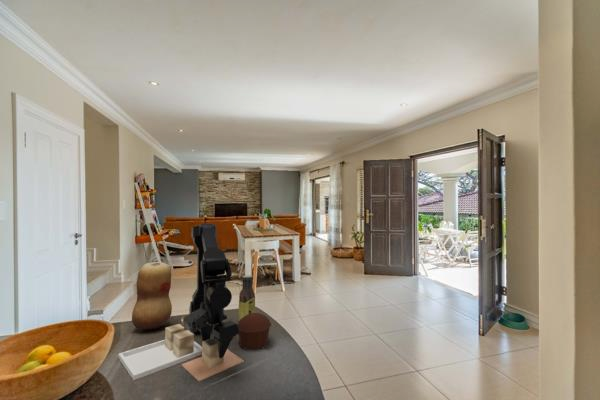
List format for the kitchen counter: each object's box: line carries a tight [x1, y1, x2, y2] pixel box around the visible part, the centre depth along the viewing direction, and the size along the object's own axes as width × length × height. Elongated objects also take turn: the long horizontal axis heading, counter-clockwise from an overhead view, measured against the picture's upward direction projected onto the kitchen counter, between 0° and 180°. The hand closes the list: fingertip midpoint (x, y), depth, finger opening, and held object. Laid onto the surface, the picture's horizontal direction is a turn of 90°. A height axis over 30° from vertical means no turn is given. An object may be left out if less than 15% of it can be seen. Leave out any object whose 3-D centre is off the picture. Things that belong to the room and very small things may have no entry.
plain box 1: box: [164, 323, 186, 351], centre depth 93 cm, size 4×4×6 cm
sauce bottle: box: [237, 274, 256, 323], centre depth 109 cm, size 6×6×20 cm
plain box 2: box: [173, 329, 195, 358], centre depth 88 cm, size 4×4×6 cm
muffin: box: [236, 312, 272, 350], centre depth 96 cm, size 12×11×10 cm
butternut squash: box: [131, 261, 173, 331], centre depth 109 cm, size 14×13×25 cm
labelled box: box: [201, 337, 224, 368], centre depth 83 cm, size 4×4×6 cm
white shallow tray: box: [117, 339, 202, 381], centre depth 87 cm, size 20×16×2 cm
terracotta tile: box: [181, 349, 245, 382], centre depth 83 cm, size 14×11×1 cm
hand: (213, 351), depth 83 cm, fingers open, 9 cm apart
